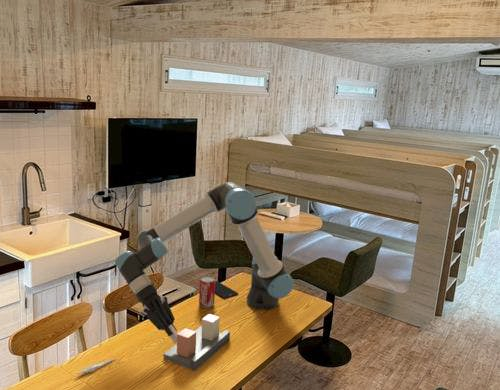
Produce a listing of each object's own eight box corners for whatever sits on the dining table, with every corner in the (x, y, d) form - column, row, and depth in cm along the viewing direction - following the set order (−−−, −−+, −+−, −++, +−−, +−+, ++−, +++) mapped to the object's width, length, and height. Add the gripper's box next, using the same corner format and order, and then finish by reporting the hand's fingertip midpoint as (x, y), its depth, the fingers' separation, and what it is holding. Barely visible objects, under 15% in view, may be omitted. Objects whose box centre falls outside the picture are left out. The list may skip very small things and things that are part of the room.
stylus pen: (79, 378, 154) (79, 373, 154) (75, 375, 156) (75, 370, 155) (118, 362, 165) (118, 357, 165) (114, 359, 167) (114, 354, 167)
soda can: (205, 300, 215) (206, 274, 212) (217, 304, 211) (218, 278, 208) (195, 305, 209) (196, 279, 206) (207, 310, 205) (208, 283, 202)
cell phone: (224, 299, 217) (224, 298, 216) (202, 286, 230) (202, 284, 229) (238, 295, 222) (238, 293, 222) (216, 282, 235) (216, 280, 235)
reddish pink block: (176, 353, 167) (176, 333, 165) (184, 347, 172) (185, 328, 170) (187, 357, 165) (188, 338, 163) (195, 351, 169) (196, 331, 167)
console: (163, 358, 168) (163, 349, 167) (200, 330, 188) (200, 321, 187) (194, 371, 161) (195, 361, 160) (229, 340, 182) (230, 331, 181)
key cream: (201, 337, 179) (202, 318, 177) (208, 331, 183) (209, 313, 181) (212, 341, 176) (212, 322, 175) (219, 335, 181) (219, 317, 179)
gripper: (149, 287, 180) (182, 337, 177) (126, 299, 169) (161, 353, 165) (160, 278, 177) (194, 329, 173) (136, 290, 165) (173, 345, 162)
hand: (178, 341), depth 169 cm, fingers closed
